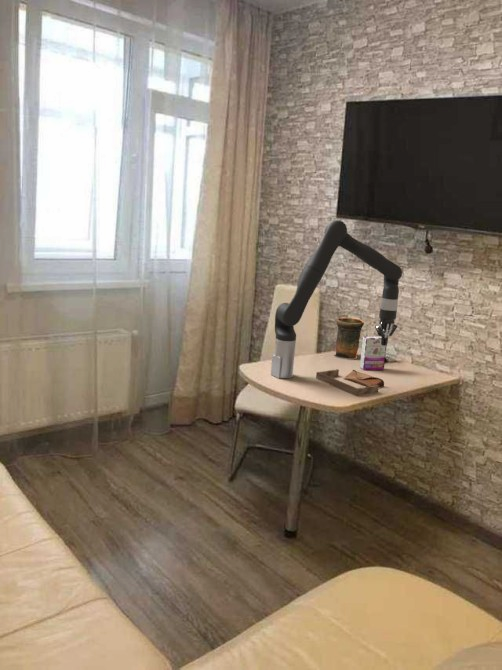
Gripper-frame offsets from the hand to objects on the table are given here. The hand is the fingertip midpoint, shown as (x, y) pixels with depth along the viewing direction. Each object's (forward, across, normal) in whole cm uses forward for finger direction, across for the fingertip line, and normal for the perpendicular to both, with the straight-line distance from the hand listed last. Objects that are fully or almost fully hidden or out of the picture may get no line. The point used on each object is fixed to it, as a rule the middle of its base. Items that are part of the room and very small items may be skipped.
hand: (383, 345), depth 255 cm
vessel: (+17, -15, -38) cm, 44 cm away
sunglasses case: (+17, +11, 0) cm, 21 cm away
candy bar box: (+17, -10, -14) cm, 24 cm away
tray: (+16, +22, 0) cm, 27 cm away
